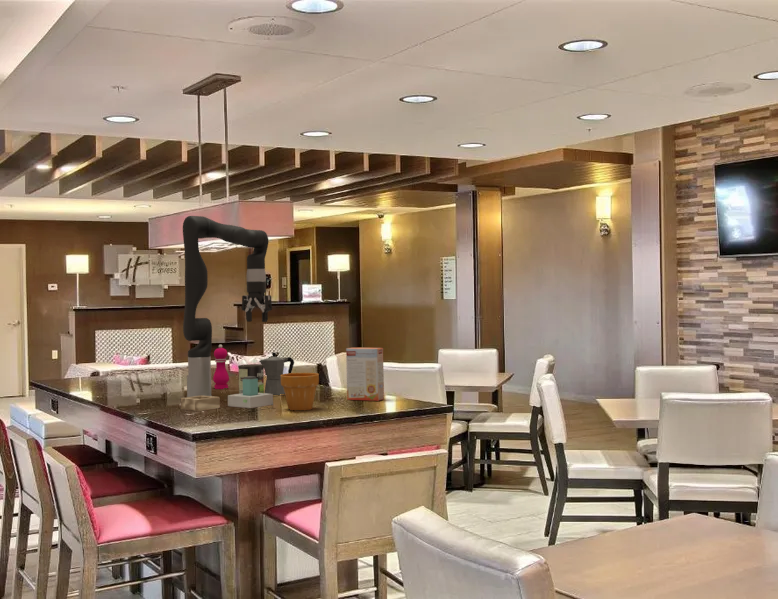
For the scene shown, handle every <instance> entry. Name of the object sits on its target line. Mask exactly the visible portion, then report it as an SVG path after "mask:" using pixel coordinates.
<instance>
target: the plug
mask: <svg viewBox="0 0 778 599" xmlns="http://www.w3.org/2000/svg"><path fill="white" fill-rule="evenodd" d="M243 395H246V396H253V395H258V379H256V377H255V376H248V377H244V379H243Z"/></svg>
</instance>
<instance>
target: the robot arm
mask: <svg viewBox="0 0 778 599" xmlns="http://www.w3.org/2000/svg"><path fill="white" fill-rule="evenodd" d="M182 238H183V247H184V312H183V327H182V328H183V330H182V332H183V336H184V339H185V340H186V341H189V342H190V341H191V342H193V341H198V344H197V345H195V347H192V348H191V349H189V350H187V367H188V368H187V370H188V371H187V372H188V374H187V375H186V397H193V396H201V395H203V396H212V362H211V361H212V358H211V357H212V355H211V353H212V344H213V326H212V322H211V320H210V319H209V318H207V317H196V313H197V308H198V304H199V303H200V301H201V300H202V299H203V298H202V297H203V296H204V295H205V293H206V291H207V289H208V282H209V280H208V275H209V274H208V268H207V266H206V263H205V261H204V259H203V257H202V255H201V253H200V248H199V240H200V239H208V238H209V239H212V238H213V239H219V240H222V241H224V242H225V243H229V244H235V245H240V246H242V247H246V248H251V249H252V248H253V252H252V253H250V254H248V255H247V256H246V292H247V294H246V295H245V294H244V295H242V296H241V311H244V312H245V320H246V322H252V320H253V314H252V311H253V309H254V308H255V307H258V308H259V309H260V311H261V322H262V323H267V322H268V319H269V314H268V313H269V312H271V311H272V309H273V304H272V295H270V294H269V295H268V294H267V295H265V293H266V292H267V285H266V284H267V278H266V276H267V274H266V273H267V272H266V260H265V259H266V256H267V251H268V247H269V235H268V234H267V232H266V231H264V230H260V229H250V228H249V229H247V228H245V227H241V226H239V225H233V224H224V223H222V222H221V223H220V222H217V221H215V220H212V219H210V218H208V217H207V216H201V215H189V216H186V217H185V218H184V219H183V223H182Z"/></svg>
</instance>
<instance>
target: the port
mask: <svg viewBox="0 0 778 599" xmlns="http://www.w3.org/2000/svg"><path fill="white" fill-rule="evenodd" d="M269 406H274V396H273V394H267V393H258V395H253V396H246V395H243V393H241V394H239V393H234V394H230V395H229V394H228V395H227V407H232V408H244V409H254V408H261V407H269Z"/></svg>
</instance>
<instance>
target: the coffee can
mask: <svg viewBox="0 0 778 599" xmlns="http://www.w3.org/2000/svg"><path fill="white" fill-rule="evenodd" d="M263 367H264V365H262V364H261V363H260V364H258V363H256V364H255V363H254V364H252V363H251V364H239V365H238V366H237V368H238V394H241V393H243V379H244V377H248V376H255V377H256V379H258V393H264V392H265V384H264V382H265V381H264V379H265V378H264V372H265V369H264V368H263Z"/></svg>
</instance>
